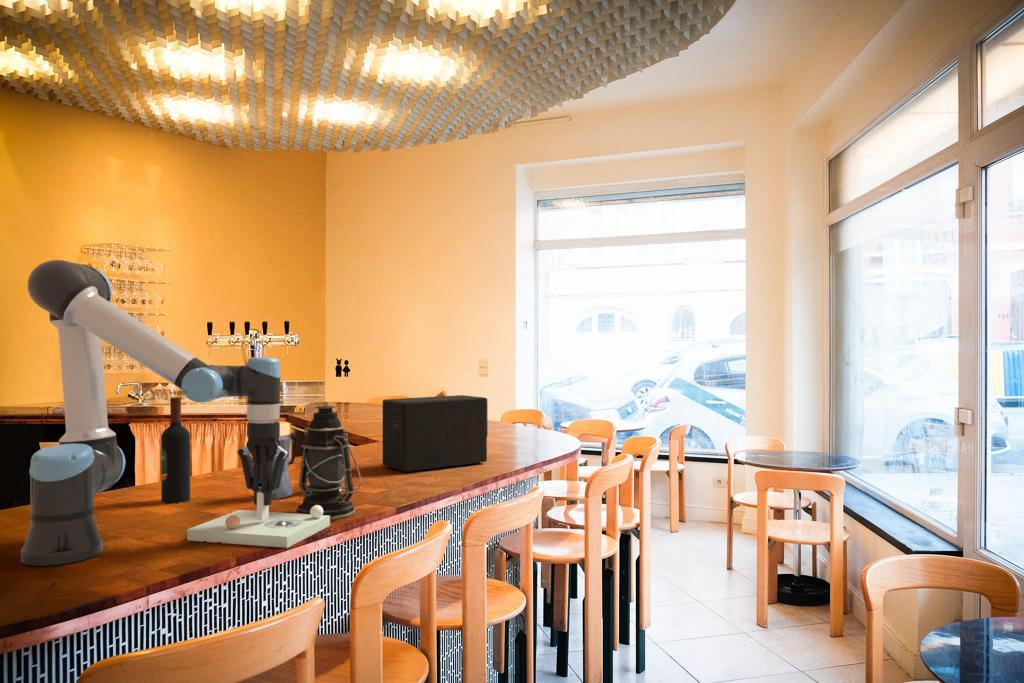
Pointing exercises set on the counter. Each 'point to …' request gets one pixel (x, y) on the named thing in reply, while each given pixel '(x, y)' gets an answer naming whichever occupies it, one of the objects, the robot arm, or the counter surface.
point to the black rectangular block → (434, 432)
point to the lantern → (326, 466)
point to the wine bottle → (175, 458)
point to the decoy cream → (316, 511)
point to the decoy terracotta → (232, 522)
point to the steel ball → (281, 523)
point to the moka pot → (285, 467)
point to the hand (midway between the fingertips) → (262, 518)
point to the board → (260, 529)
